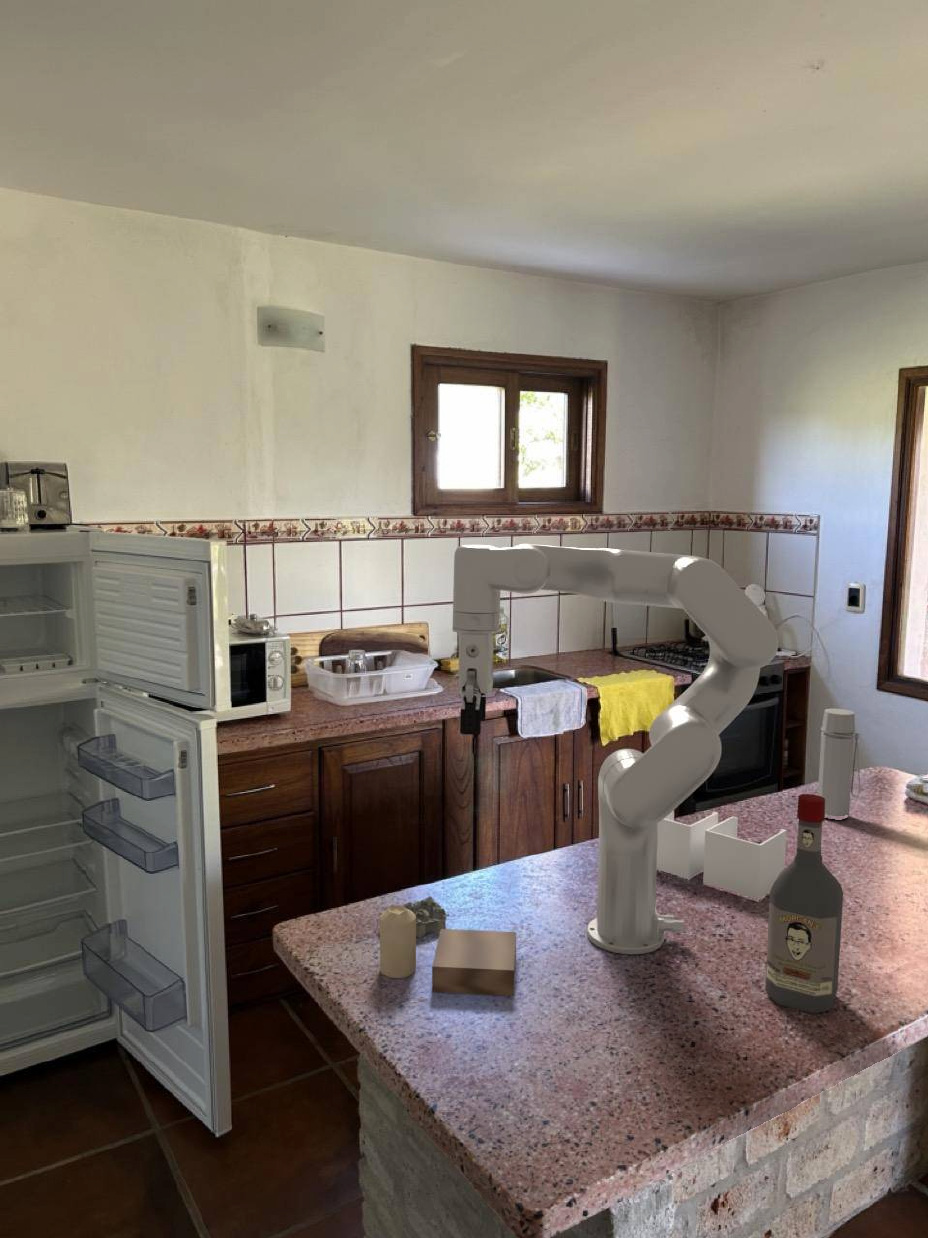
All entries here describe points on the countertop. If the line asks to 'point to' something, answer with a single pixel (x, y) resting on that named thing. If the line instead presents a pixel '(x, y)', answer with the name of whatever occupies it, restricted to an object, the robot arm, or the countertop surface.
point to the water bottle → (837, 761)
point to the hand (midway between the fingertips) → (473, 726)
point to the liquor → (805, 921)
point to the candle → (397, 942)
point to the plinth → (474, 962)
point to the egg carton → (426, 915)
